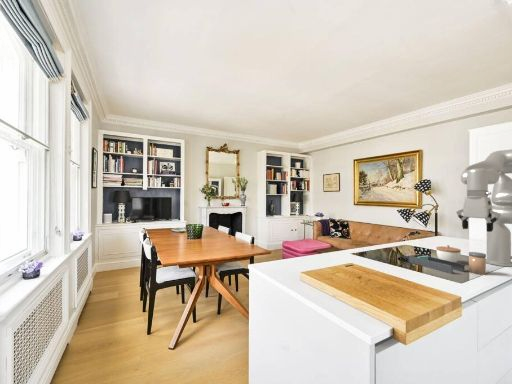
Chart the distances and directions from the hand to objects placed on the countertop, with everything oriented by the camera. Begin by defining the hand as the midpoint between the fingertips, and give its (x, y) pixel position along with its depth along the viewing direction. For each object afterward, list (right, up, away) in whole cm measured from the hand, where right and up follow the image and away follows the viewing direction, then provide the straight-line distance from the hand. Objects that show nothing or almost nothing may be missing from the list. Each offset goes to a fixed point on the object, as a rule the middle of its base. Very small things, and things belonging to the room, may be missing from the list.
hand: (476, 230), depth 120 cm
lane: (-14, -20, +9) cm, 26 cm away
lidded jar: (0, -21, +18) cm, 28 cm away
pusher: (-16, -20, +15) cm, 30 cm away
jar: (0, -20, 0) cm, 20 cm away
